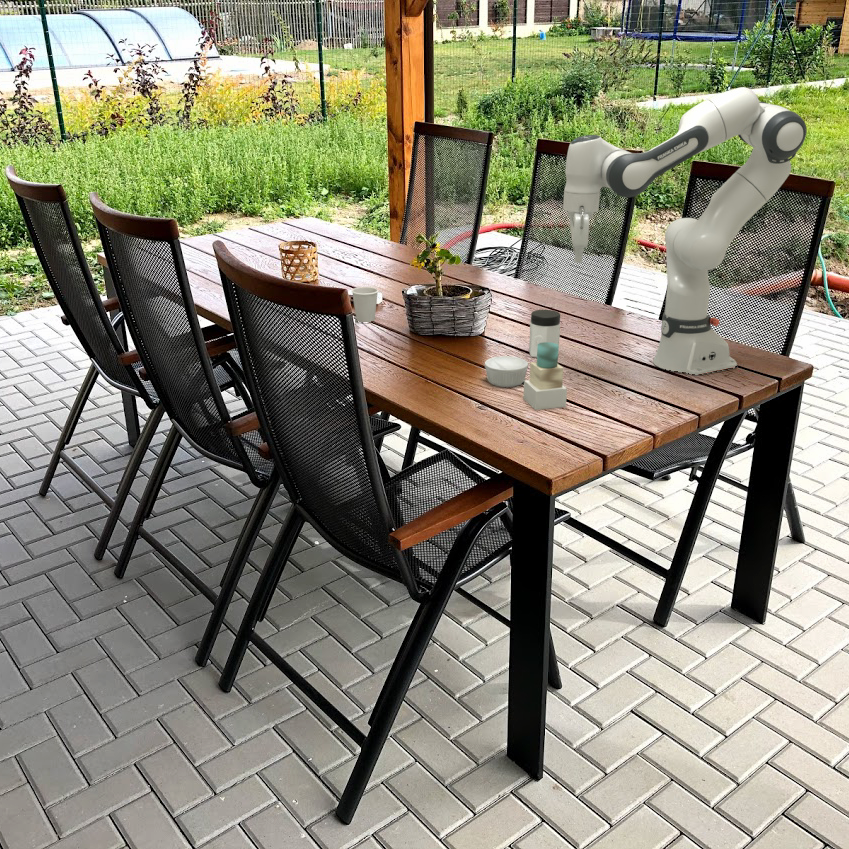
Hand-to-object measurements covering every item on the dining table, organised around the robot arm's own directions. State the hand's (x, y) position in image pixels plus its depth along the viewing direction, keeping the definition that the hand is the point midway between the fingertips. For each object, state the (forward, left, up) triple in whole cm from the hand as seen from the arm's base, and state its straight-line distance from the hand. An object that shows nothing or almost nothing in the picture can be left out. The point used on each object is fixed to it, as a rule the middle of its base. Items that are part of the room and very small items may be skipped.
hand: (577, 257), depth 237 cm
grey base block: (+15, +19, -31) cm, 39 cm away
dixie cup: (+43, -61, -31) cm, 81 cm away
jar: (+1, -16, -31) cm, 35 cm away
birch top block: (+15, +19, -26) cm, 36 cm away
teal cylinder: (+15, +19, -21) cm, 32 cm away
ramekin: (+19, +2, -32) cm, 37 cm away
